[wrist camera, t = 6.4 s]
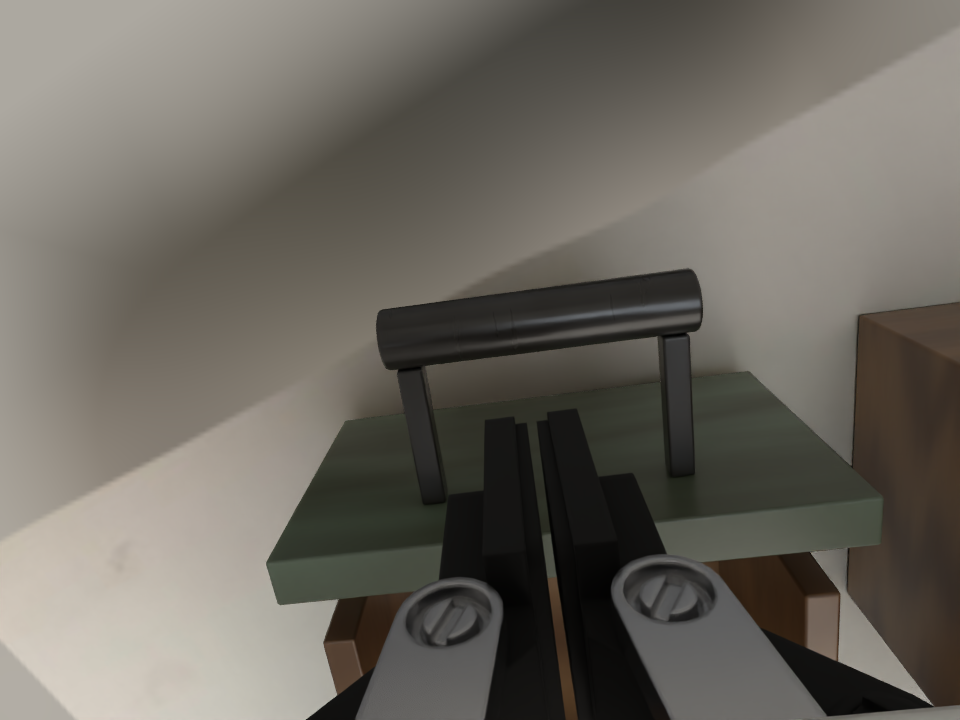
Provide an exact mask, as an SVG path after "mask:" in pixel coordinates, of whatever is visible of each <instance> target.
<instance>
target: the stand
mask: <svg viewBox="0 0 960 720" xmlns="http://www.w3.org/2000/svg"><path fill="white" fill-rule="evenodd" d="M853 469H854V470H855V471H856V472H857V473H858V474H859V475H860V476H861V477H863V478H864V479H865V480H866V481H867V482H868V483H869V484H870V485H871V486H872V487H873V488H874V489H875V490H876V491H878V492H879V493H880V494H881V495H882V496H883V498H884V505H883V522H882V538H881V544H879V545H872V546H862V547H852V548H849V571H848V594H849V596H850V597H851V598H852V600H853V601H854V602H855V603H856V605H857V606H858V607H859V609H860V610H861V611H862V613H863V614H864V615H865V617H866V618H867V619H868V620H869V622H870V623H871V624H872V626H873V627H874V628H875V630H876V631H877V632H878V634H879V635H880V636H881V637H882V639H883V640H884V641H885V643H886V644H887V645H888V647H889V648H890V649H891V651H892V652H893V653H894V654H895V656H896V657H897V658H898V660H899V661H900V662H901V664H902V665H903V666H904V668H905V669H906V670H907V672H908V673H909V674H910V675H911V677H912V678H913V679H914V681H915V682H916V683H917V685H918V686H919V687H920V689H921V690H922V691H923V692H924V694H925V695H926V696H927V698H928V699H929V700H930V702H931V703H932V704H933V706H934V707H943V706H954V705H960V303H952V304H944V305H936V306H929V307H921V308H913V309H905V310H897V311H889V312H881V313H874V314H866V315H861V316H860V317H859V337H858V361H857V384H856V407H855V431H854V454H853Z"/></svg>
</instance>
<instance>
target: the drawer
mask: <svg viewBox="0 0 960 720" xmlns="http://www.w3.org/2000/svg"><path fill="white" fill-rule="evenodd" d="M702 318H703V301H702V293H701V288H700V284H699V281H698V278H697V276H696V274H695V272H694V271H693V270H692V269H689V268H686V269H679V270H672V271H664V272H657V273H649V274H642V275H635V276H627V277H620V278H612V279H605V280H598V281H590V282H583V283H575V284H568V285H561V286H553V287H546V288H538V289H531V290H524V291H516V292H509V293H501V294H494V295H487V296H479V297H472V298H464V299H457V300H450V301H442V302H435V303H427V304H420V305H413V306H405V307H398V308H391V309H383V310H381V311H379V313H378V315H377V323H376V332H377V342H378V348H379V352H380V356H381V359H382V362H383V364H384V366H385V368H386V369H387V370H398V372H397V378H398V383H399V388H400V393H401V398H402V403H403V408H404V414H396V415H388V416H379V417H371V418H363V419H355V420H347V421H345V422H344V424H343V426H342V427H341V429H340V431H339V433H338V435H337V436H336V438H335V440H334V442H333V444H332V445H331V447H330V449H329V451H328V452H327V454H326V456H325V458H324V460H323V461H322V463H321V465H320V467H319V469H318V470H317V472H316V474H315V476H314V478H313V479H312V481H311V483H310V485H309V487H308V488H307V490H306V492H305V494H304V495H303V497H302V499H301V501H300V503H299V504H298V506H297V508H296V510H295V512H294V513H293V515H292V517H291V519H290V521H289V522H288V524H287V526H286V528H285V530H284V531H283V533H282V535H281V537H280V538H279V540H278V542H277V544H276V546H275V547H274V549H273V551H272V553H271V555H270V556H269V558H268V560H267V562H266V565H267V569H268V572H269V576H270V579H271V582H272V586H273V589H274V593H275V596H276V599H277V603H278V604H279V605H286V604H296V603H305V602H315V601H325V600H335V599H339V600H338V602H337V605H336V608H335V611H334V614H333V616H332V619H331V622H330V625H329V628H328V630H327V633H326V636H325V639H324V642H323V644H324V648H325V652H326V655H327V659H328V663H329V666H330V670H331V673H332V677H333V681H334V684H335V688H336V692H337V695H339V694H340V693H341V692H342V691H344V690H345V689H346V688H348V687H349V686H350V685H351V684H353V683H354V682H355V681H357V680H358V679H359V678H360V677H362V676H363V675H364V674H366V673H367V672H368V671H370V670H371V669H372V668H373V667H375V666H376V664H377V661H378V659H379V656H380V654H381V651H382V649H383V646H384V644H385V641H386V638H387V636H388V633H389V631H390V628H391V626H392V623H393V620H394V618H395V615H396V613H397V611H398V610H399V608H400V606H401V605H402V603H403V602H404V601H405V600H406V599H407V598H408V597H409V596H410V595H411V594H412V593H413V592H414V591H416V590H418V589H420V588H421V587H423V586H425V585H427V584H429V583H432V582H435V581H438V580H439V572H440V563H441V554H442V546H443V537H444V528H445V519H446V510H447V501H448V496H449V495H450V494H457V493H465V492H474V491H482V490H484V429H485V420H488V419H495V418H503V417H511V416H514V418H515V424H518V423H526V422H527V428H528V435H529V443H530V450H531V458H532V465H533V473H534V480H535V488H536V495H537V503H538V510H539V517H540V525H541V532H542V540H543V547H544V555H545V563H546V570H547V578H548V586H549V594H550V601H551V609H552V617H553V625H554V632H555V640H556V648H557V656H558V663H559V671H560V679H561V687H562V695H563V702H564V710H565V718H566V720H578V717H577V710H576V704H575V697H574V690H573V683H572V677H571V670H570V663H569V657H568V650H567V643H566V637H565V630H564V623H563V616H562V610H561V603H560V596H559V590H558V583H557V576H556V570H555V563H554V555H553V548H552V540H551V533H550V525H549V517H548V509H547V501H546V494H545V486H544V478H543V470H542V462H541V455H540V447H539V439H538V431H537V423H536V421H542V420H548V419H547V412H551V411H559V410H566V409H574V408H577V410H578V413H579V417H580V420H581V423H582V426H583V430H584V433H585V436H586V439H587V442H588V446H589V449H590V452H591V455H592V459H593V462H594V465H595V468H596V471H597V475H598V477H599V476H607V475H615V474H624V473H633V474H634V476H635V478H636V480H637V482H638V485H639V487H640V490H641V492H642V494H643V497H644V499H645V502H646V504H647V506H648V509H649V511H650V514H651V516H652V518H653V521H654V523H655V526H656V528H657V530H658V533H659V535H660V538H661V540H662V542H663V545H664V547H665V550H666V552H667V554H668V555H679V556H683V557H687V558H690V559H694V560H697V561H699V562H701V563H703V564H704V565H706V566H708V567H710V568H711V569H712V570H714V571H715V572H716V573H717V574H718V575H719V576H720V577H721V578H722V579H723V581H724V582H725V583H726V585H727V586H728V587H729V588H730V590H731V591H732V592H733V594H734V595H735V596H736V598H737V599H738V600H739V602H740V603H741V604H742V605H743V607H744V608H745V609H746V611H747V612H748V613H749V615H750V616H751V617H752V618H753V620H754V621H755V622H756V624H757V625H758V626H759V627H761V628H763V629H765V630H767V631H770V632H772V633H774V634H776V635H779V636H781V637H783V638H785V639H788V640H790V641H792V642H795V643H797V644H799V645H801V646H804V647H806V648H808V649H810V650H813V651H815V652H817V653H819V654H822V655H824V656H826V657H828V658H831V659H833V660H835V661H838V645H839V619H840V592H839V591H838V589H837V588H836V587H835V585H834V584H833V583H832V581H831V580H830V579H829V577H828V576H827V575H826V573H825V572H824V571H823V569H822V568H821V567H820V565H819V564H818V563H817V561H816V560H815V559H814V557H813V556H812V555H811V553H810V552H812V551H822V550H832V549H842V548H852V547H862V546H872V545H879V544H881V538H882V522H883V505H884V498H883V496H882V495H881V494H880V493H879V492H878V491H876V490H875V489H874V488H873V487H872V486H871V485H870V484H869V483H868V482H867V481H866V480H865V479H864V478H863V477H861V476H860V475H859V474H858V473H857V472H856V471H855V470H854V469H853V468H852V467H851V466H850V465H849V464H848V463H847V462H845V461H844V460H843V459H842V458H841V457H840V456H839V455H838V454H837V453H836V452H835V451H834V450H833V449H832V448H830V447H829V446H828V445H827V444H826V443H825V442H824V441H823V440H822V439H821V438H820V437H819V436H818V435H817V434H815V433H814V432H813V431H812V430H811V429H810V428H809V427H808V426H807V425H806V424H805V423H804V422H803V421H802V420H801V419H799V418H798V417H797V416H796V415H795V414H794V413H793V412H792V411H791V410H790V409H789V408H788V407H787V406H786V405H784V404H783V403H782V402H781V401H780V400H779V399H778V398H777V397H776V396H775V395H774V394H773V393H772V392H771V391H769V390H768V389H767V388H766V387H765V386H764V385H763V384H762V383H761V382H760V381H759V380H758V379H757V378H756V377H754V376H753V375H752V374H751V373H750V372H748V371H747V372H739V373H731V374H723V375H715V376H706V377H698V378H691V355H690V337H689V335H688V334H687V333H688V332H695V331H697V330H699V329H700V327H701V323H702ZM656 336H658V351H659V368H660V382H657V383H649V384H641V385H633V386H625V387H617V388H608V389H600V390H592V391H584V392H576V393H567V394H559V395H551V396H543V397H535V398H527V399H518V400H510V401H502V402H494V403H486V404H478V405H469V406H461V407H453V408H445V409H437V410H433V406H432V400H431V395H430V390H429V384H428V379H427V373H426V368H425V366H429V365H437V364H445V363H453V362H461V361H469V360H476V359H484V358H492V357H500V356H508V355H516V354H523V353H531V352H539V351H547V350H555V349H563V348H570V347H578V346H586V345H594V344H602V343H609V342H617V341H625V340H633V339H641V338H649V337H656Z"/></svg>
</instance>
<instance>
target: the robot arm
mask: <svg viewBox="0 0 960 720" xmlns="http://www.w3.org/2000/svg"><path fill="white" fill-rule="evenodd" d="M547 419H548V420H542V421H536V423H537V431H538V439H539V447H540V455H541V462H542V470H543V478H544V486H545V494H546V501H547V509H548V517H549V525H550V533H551V540H552V548H553V555H554V563H555V570H556V576H557V583H558V590H559V596H560V603H561V610H562V616H563V623H564V630H565V637H566V643H567V650H568V657H569V663H570V670H571V677H572V683H573V690H574V697H575V704H576V710H577V717H578V720H960V705H954V706H943V707H934V706H932V705H930V704H929V703H927V702H925V701H923V700H921V699H919V698H918V697H916V696H914V695H912V694H910V693H908V692H905V691H903V690H901V689H899V688H896V687H894V686H892V685H890V684H887V683H885V682H883V681H880V680H878V679H876V678H874V677H871V676H869V675H867V674H865V673H862V672H860V671H858V670H856V669H853V668H851V667H849V666H847V665H844V664H842V663H840V662H838V661H835V660H833V659H831V658H828V657H826V656H824V655H822V654H819V653H817V652H815V651H813V650H810V649H808V648H806V647H804V646H801V645H799V644H797V643H795V642H792V641H790V640H788V639H785V638H783V637H781V636H779V635H776V634H774V633H772V632H770V631H767V630H765V629H763V628H761V627H759V626H758V625H757V624H756V622H755V621H754V620H753V618H752V617H751V616H750V615H749V613H748V612H747V611H746V609H745V608H744V607H743V605H742V604H741V603H740V602H739V600H738V599H737V598H736V596H735V595H734V594H733V592H732V591H731V590H730V588H729V587H728V586H727V585H726V583H725V582H724V581H723V579H722V578H721V577H720V576H719V575H718V574H717V573H716V572H715V571H714V570H712V569H711V568H710V567H708V566H706V565H704V564H703V563H701V562H699V561H697V560H694V559H690V558H687V557H683V556H679V555H668V554H667V552H666V550H665V547H664V545H663V542H662V540H661V538H660V535H659V533H658V530H657V528H656V526H655V523H654V521H653V518H652V516H651V514H650V511H649V509H648V506H647V504H646V502H645V499H644V497H643V494H642V492H641V490H640V487H639V485H638V482H637V480H636V478H635V476H634V474H633V473H624V474H615V475H607V476H599V477H598V475H597V471H596V468H595V465H594V462H593V459H592V455H591V452H590V449H589V446H588V442H587V439H586V436H585V433H584V430H583V426H582V423H581V420H580V417H579V413H578V410H577V408H574V409H566V410H559V411H551V412H547ZM306 720H566V718H565V710H564V702H563V695H562V687H561V679H560V671H559V663H558V656H557V648H556V640H555V632H554V625H553V617H552V609H551V601H550V594H549V586H548V578H547V570H546V563H545V555H544V547H543V540H542V532H541V525H540V517H539V510H538V503H537V495H536V488H535V480H534V473H533V465H532V458H531V450H530V443H529V435H528V428H527V422H526V423H518V424H515V418H514V416H511V417H503V418H495V419H488V420H485V429H484V490H482V491H474V492H465V493H457V494H450V495H449V496H448V501H447V510H446V519H445V528H444V537H443V546H442V554H441V563H440V572H439V580H438V581H435V582H432V583H429V584H427V585H425V586H423V587H421V588H420V589H418V590H416V591H414V592H413V593H412V594H411V595H410V596H409V597H408V598H407V599H406V600H405V601H404V602H403V603H402V605H401V606H400V608H399V610H398V611H397V613H396V615H395V618H394V620H393V623H392V626H391V628H390V631H389V633H388V636H387V638H386V641H385V644H384V646H383V649H382V651H381V654H380V656H379V659H378V661H377V664H376V666H375V667H373V668H372V669H371V670H370V671H368V672H367V673H366V674H364V675H363V676H362V677H360V678H359V679H358V680H357V681H355V682H354V683H353V684H351V685H350V686H349V687H348V688H346V689H345V690H344V691H342V692H341V693H340V694H339V695H337V696H336V697H335V698H333V699H332V700H331V701H330V702H328V703H327V704H326V705H324V706H323V707H322V708H320V709H319V710H318V711H317V712H315V713H314V714H313V715H311V716H310V717H309V718H308V719H306Z"/></svg>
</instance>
